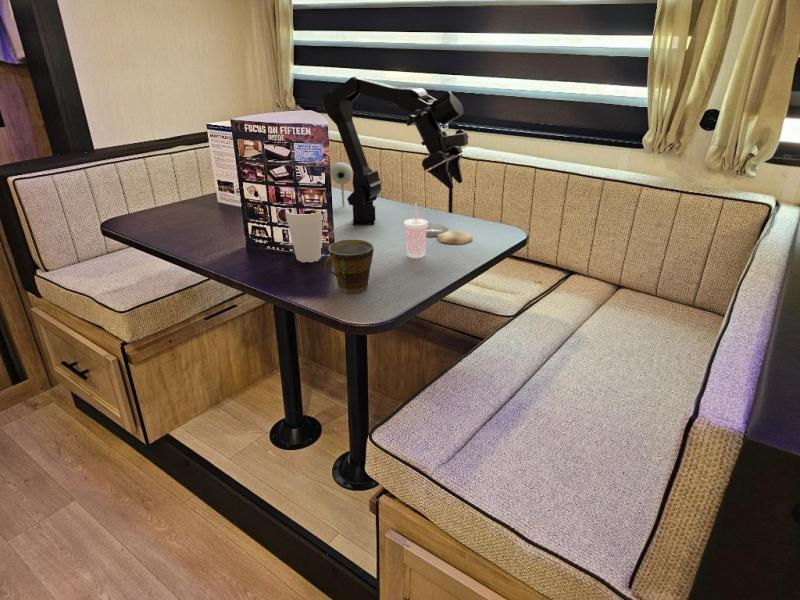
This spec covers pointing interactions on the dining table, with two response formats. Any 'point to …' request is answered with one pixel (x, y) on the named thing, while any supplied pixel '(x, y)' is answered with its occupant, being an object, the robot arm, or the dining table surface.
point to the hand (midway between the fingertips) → (456, 185)
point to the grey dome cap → (435, 230)
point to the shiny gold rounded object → (455, 237)
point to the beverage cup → (415, 236)
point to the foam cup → (306, 235)
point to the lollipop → (341, 175)
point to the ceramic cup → (351, 264)
